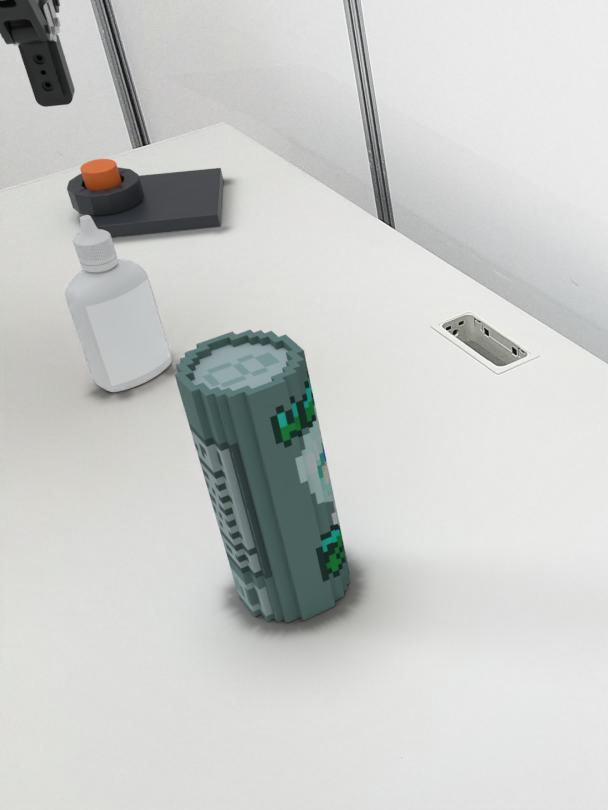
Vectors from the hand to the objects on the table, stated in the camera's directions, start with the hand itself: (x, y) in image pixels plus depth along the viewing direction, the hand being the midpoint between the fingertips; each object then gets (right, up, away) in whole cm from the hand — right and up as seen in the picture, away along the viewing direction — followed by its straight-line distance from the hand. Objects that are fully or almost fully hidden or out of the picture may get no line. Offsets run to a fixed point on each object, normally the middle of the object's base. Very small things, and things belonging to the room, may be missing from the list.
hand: (57, 101), depth 78 cm
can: (+16, -31, -6) cm, 35 cm away
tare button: (-9, +5, +30) cm, 31 cm away
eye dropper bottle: (0, -15, +12) cm, 19 cm away
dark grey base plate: (-5, +3, +32) cm, 33 cm away
